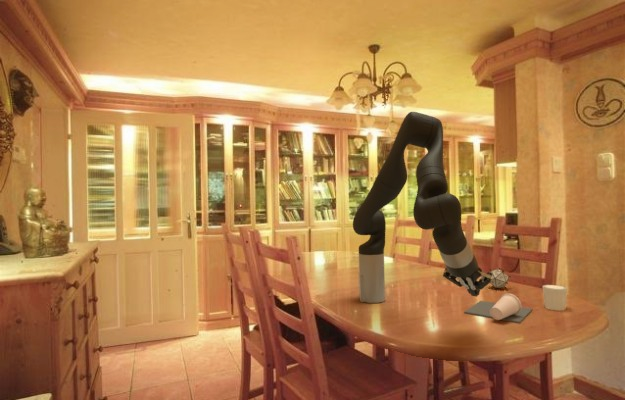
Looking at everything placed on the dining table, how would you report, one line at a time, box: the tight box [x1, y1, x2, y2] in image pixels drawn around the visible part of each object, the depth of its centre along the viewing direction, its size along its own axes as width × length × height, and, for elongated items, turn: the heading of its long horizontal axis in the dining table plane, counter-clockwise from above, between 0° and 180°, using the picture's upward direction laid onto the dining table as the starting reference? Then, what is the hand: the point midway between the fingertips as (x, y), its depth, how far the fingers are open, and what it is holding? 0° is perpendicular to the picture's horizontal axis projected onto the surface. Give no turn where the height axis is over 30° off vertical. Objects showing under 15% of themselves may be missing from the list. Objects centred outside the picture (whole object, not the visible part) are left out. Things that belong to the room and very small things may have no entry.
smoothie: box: [490, 293, 523, 321], centre depth 112 cm, size 6×6×14 cm
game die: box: [489, 267, 512, 291], centre depth 148 cm, size 9×8×10 cm
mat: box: [463, 300, 533, 324], centre depth 118 cm, size 16×16×1 cm
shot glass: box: [542, 284, 568, 312], centre depth 121 cm, size 7×7×7 cm
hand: (475, 293), depth 103 cm, fingers closed
